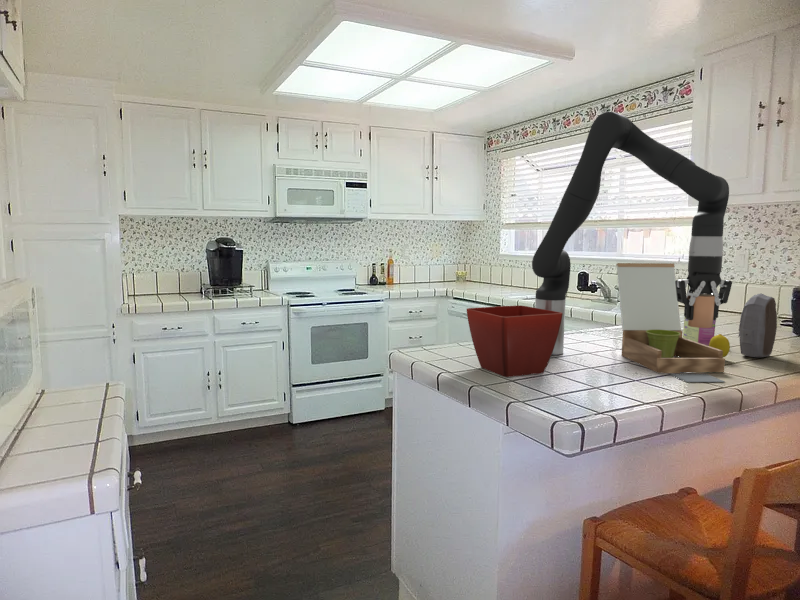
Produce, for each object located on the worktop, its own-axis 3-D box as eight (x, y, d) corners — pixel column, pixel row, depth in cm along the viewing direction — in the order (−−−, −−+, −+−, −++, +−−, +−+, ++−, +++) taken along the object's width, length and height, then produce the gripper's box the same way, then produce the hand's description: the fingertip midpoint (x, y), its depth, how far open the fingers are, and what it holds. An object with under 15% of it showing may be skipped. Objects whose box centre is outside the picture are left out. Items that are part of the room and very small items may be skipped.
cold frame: (658, 373, 147) (660, 344, 146) (621, 355, 169) (622, 330, 168) (724, 373, 148) (726, 344, 147) (678, 355, 170) (680, 330, 169)
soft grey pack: (759, 361, 162) (765, 295, 160) (729, 356, 169) (734, 293, 167) (776, 355, 172) (782, 292, 170) (746, 350, 178) (751, 290, 176)
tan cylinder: (696, 327, 137) (698, 295, 136) (683, 324, 143) (685, 293, 142) (717, 328, 137) (719, 295, 137) (704, 324, 143) (706, 293, 142)
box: (714, 346, 186) (716, 312, 185) (697, 345, 186) (700, 311, 185) (698, 340, 197) (700, 308, 195) (682, 340, 197) (684, 308, 195)
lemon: (727, 359, 166) (729, 333, 165) (729, 362, 161) (732, 336, 160) (707, 357, 168) (708, 331, 167) (708, 360, 163) (710, 334, 162)
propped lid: (622, 356, 169) (627, 264, 166) (606, 348, 181) (610, 262, 177) (679, 356, 170) (685, 264, 167) (659, 348, 181) (665, 262, 178)
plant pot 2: (684, 364, 158) (686, 335, 157) (652, 363, 159) (654, 334, 158) (669, 357, 168) (671, 329, 167) (639, 356, 168) (640, 329, 167)
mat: (686, 382, 138) (686, 381, 137) (669, 374, 145) (669, 373, 145) (724, 382, 138) (725, 381, 138) (706, 374, 146) (706, 373, 146)
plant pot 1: (463, 366, 154) (464, 307, 152) (519, 360, 161) (521, 304, 159) (501, 382, 136) (503, 316, 134) (562, 375, 144) (564, 313, 142)
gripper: (686, 254, 134) (681, 321, 136) (742, 255, 135) (737, 322, 137) (670, 253, 141) (666, 317, 143) (723, 254, 142) (718, 317, 144)
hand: (700, 319), depth 140 cm, fingers closed on tan cylinder, 5 cm apart
